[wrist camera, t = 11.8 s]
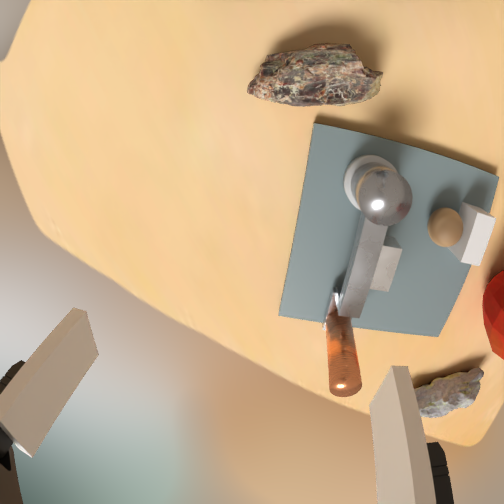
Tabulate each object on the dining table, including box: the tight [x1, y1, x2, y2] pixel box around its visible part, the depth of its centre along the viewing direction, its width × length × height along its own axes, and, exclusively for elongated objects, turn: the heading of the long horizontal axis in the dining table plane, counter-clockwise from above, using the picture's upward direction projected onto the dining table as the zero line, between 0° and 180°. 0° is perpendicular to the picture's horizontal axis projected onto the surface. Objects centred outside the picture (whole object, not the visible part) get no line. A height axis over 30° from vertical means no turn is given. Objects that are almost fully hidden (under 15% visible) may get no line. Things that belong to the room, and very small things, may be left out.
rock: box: [247, 43, 383, 107], centre depth 26 cm, size 7×11×10 cm
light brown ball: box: [427, 207, 463, 247], centre depth 30 cm, size 4×4×4 cm
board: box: [278, 123, 499, 337], centre depth 33 cm, size 24×24×5 cm
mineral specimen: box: [414, 367, 484, 418], centre depth 41 cm, size 16×7×7 cm, turn 106°
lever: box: [322, 162, 413, 397], centre depth 29 cm, size 21×6×12 cm, turn 174°
